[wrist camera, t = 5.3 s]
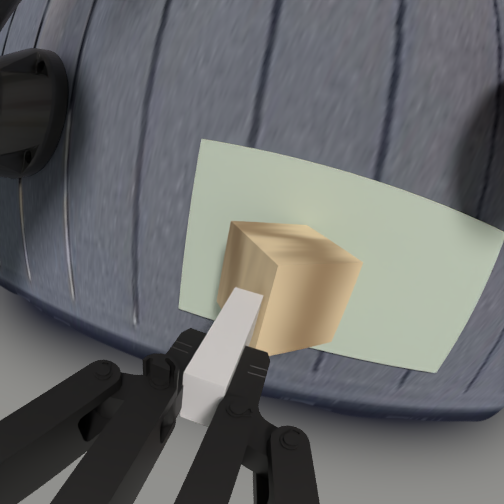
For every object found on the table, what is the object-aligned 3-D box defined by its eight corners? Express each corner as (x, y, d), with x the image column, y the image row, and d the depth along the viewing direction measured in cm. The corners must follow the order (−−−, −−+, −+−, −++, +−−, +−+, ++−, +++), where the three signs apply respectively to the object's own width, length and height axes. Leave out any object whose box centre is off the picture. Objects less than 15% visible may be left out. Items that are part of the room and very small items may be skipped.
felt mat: (180, 306, 27) (178, 308, 27) (203, 139, 21) (201, 138, 21) (434, 370, 24) (435, 373, 23) (503, 231, 18) (506, 233, 18)
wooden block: (216, 300, 21) (252, 359, 16) (230, 220, 19) (278, 265, 14) (286, 295, 24) (331, 341, 19) (306, 224, 22) (363, 262, 17)
